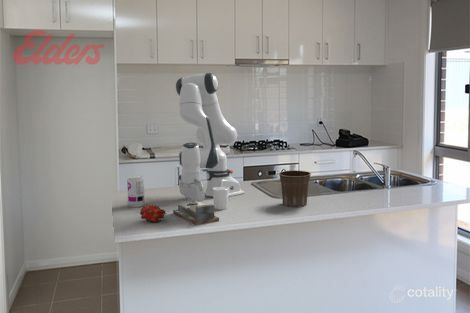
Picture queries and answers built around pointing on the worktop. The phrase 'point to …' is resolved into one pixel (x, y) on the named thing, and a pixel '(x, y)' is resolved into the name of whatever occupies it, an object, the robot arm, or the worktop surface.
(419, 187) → the worktop surface
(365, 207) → the worktop surface
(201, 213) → the base
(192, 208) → the cream block with rod
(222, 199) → the white cup
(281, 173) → the plant pot
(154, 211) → the dragon fruit
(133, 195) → the supplement can
